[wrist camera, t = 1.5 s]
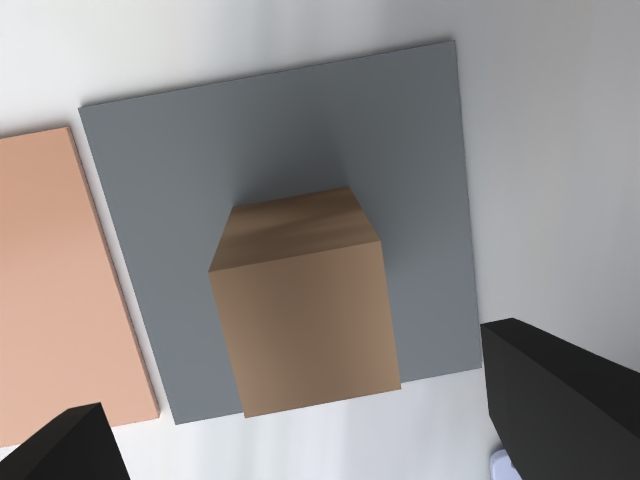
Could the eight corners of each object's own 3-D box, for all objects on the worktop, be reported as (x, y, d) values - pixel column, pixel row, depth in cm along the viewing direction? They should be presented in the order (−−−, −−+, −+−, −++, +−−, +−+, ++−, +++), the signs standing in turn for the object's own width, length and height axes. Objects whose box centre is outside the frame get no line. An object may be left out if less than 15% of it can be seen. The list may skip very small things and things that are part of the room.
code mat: (452, 40, 17) (455, 40, 16) (479, 365, 20) (481, 367, 20) (80, 107, 16) (77, 108, 16) (176, 421, 20) (175, 424, 20)
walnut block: (349, 186, 18) (380, 240, 12) (365, 293, 19) (401, 388, 13) (232, 207, 18) (207, 272, 12) (256, 313, 19) (245, 418, 13)
